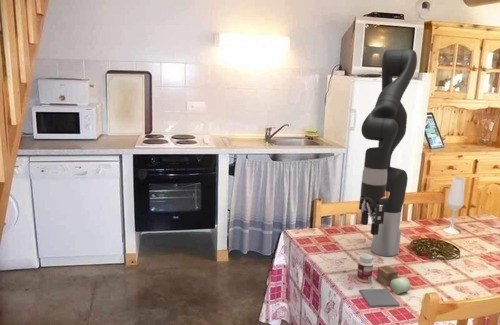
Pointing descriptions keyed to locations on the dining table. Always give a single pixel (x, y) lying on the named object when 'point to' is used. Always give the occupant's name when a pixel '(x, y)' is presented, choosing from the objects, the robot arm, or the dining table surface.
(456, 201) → the champagne flute
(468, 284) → the dining table surface
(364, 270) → the pill bottle
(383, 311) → the dining table surface
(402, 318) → the dining table surface
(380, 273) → the walnut cube
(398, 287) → the green tub
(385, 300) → the plate
